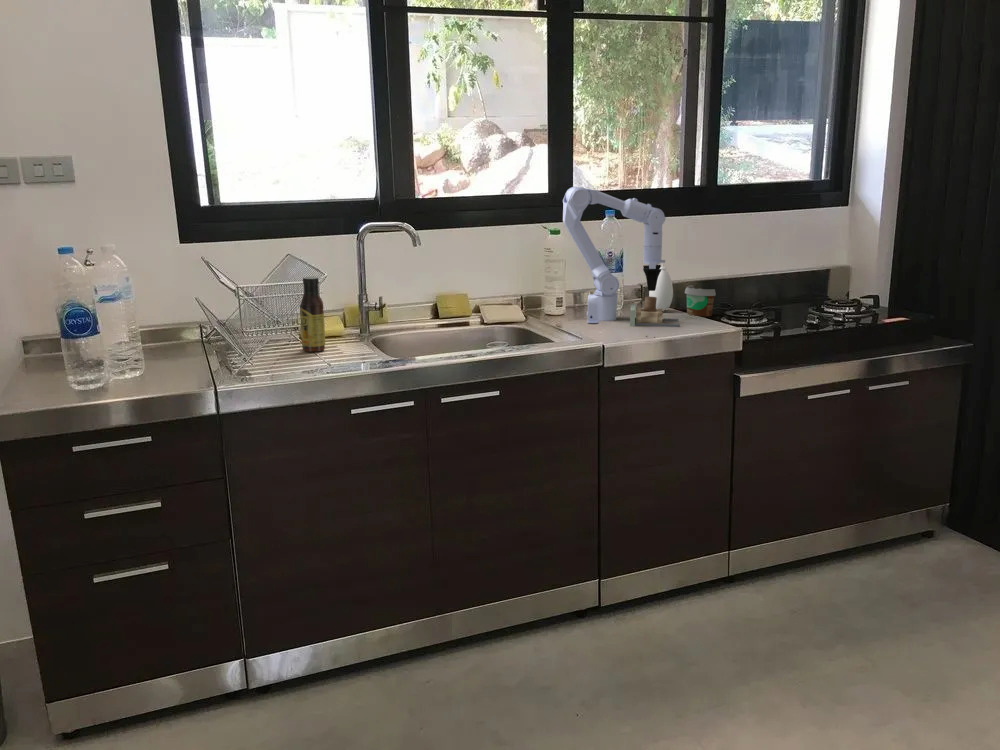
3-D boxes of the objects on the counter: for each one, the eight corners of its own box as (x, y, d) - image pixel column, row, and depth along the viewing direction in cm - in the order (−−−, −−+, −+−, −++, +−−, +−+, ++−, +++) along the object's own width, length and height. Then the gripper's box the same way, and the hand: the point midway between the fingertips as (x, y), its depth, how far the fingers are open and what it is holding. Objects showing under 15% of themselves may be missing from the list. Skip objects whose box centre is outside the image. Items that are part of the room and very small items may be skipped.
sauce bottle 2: (676, 312, 285) (679, 259, 281) (659, 314, 281) (661, 261, 277) (661, 309, 292) (663, 257, 287) (644, 311, 288) (646, 259, 283)
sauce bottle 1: (300, 349, 227) (296, 276, 222) (323, 347, 229) (319, 275, 224) (304, 353, 221) (299, 279, 216) (327, 352, 223) (323, 278, 218)
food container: (675, 315, 279) (677, 285, 277) (690, 314, 282) (692, 284, 279) (698, 321, 268) (700, 290, 266) (714, 319, 271) (716, 289, 268)
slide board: (629, 329, 254) (630, 310, 253) (630, 322, 266) (630, 304, 264) (679, 330, 252) (680, 311, 251) (677, 324, 264) (678, 305, 262)
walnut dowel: (643, 320, 257) (645, 298, 255) (642, 318, 261) (644, 296, 259) (655, 321, 257) (657, 298, 255) (654, 318, 260) (656, 296, 258)
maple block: (635, 324, 256) (636, 312, 255) (635, 320, 263) (636, 308, 262) (662, 325, 254) (662, 312, 254) (661, 321, 262) (662, 308, 261)
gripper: (666, 248, 255) (664, 292, 259) (664, 244, 269) (663, 285, 273) (642, 248, 257) (641, 292, 260) (642, 244, 270) (641, 285, 274)
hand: (651, 289), depth 266 cm, fingers open, 7 cm apart
